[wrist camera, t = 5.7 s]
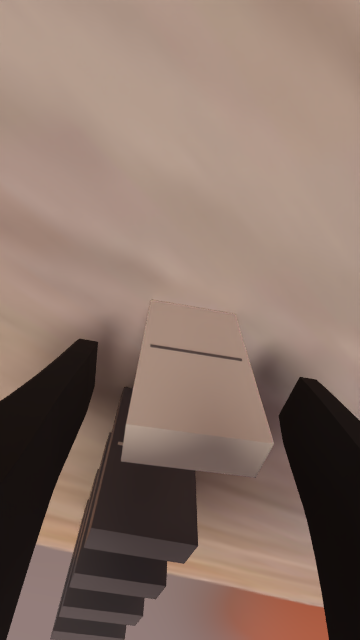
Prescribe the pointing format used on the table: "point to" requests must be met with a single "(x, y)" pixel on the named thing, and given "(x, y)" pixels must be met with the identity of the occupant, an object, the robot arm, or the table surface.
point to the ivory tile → (195, 396)
